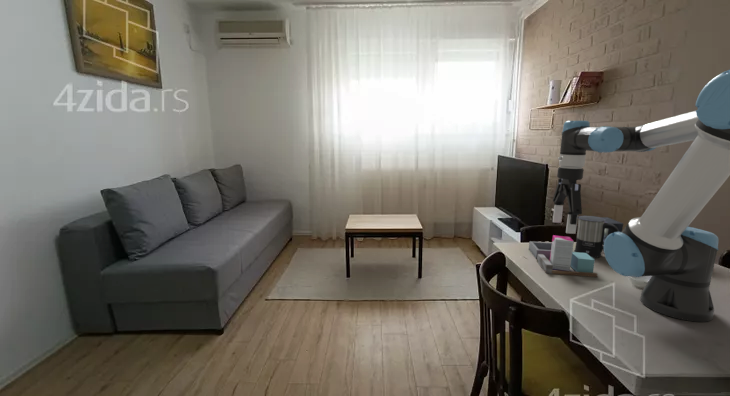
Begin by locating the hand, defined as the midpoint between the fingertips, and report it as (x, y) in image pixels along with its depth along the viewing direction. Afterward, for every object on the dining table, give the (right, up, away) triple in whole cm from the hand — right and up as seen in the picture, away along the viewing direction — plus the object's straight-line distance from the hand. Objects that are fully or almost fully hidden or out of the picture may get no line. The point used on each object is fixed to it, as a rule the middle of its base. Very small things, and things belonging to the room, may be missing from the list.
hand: (563, 227), depth 121 cm
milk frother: (+23, -12, +20) cm, 33 cm away
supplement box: (0, -15, +3) cm, 15 cm away
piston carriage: (+7, -15, +1) cm, 17 cm away
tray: (+3, -12, +16) cm, 20 cm away
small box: (+37, -10, +31) cm, 49 cm away
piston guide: (+2, -15, +2) cm, 15 cm away
